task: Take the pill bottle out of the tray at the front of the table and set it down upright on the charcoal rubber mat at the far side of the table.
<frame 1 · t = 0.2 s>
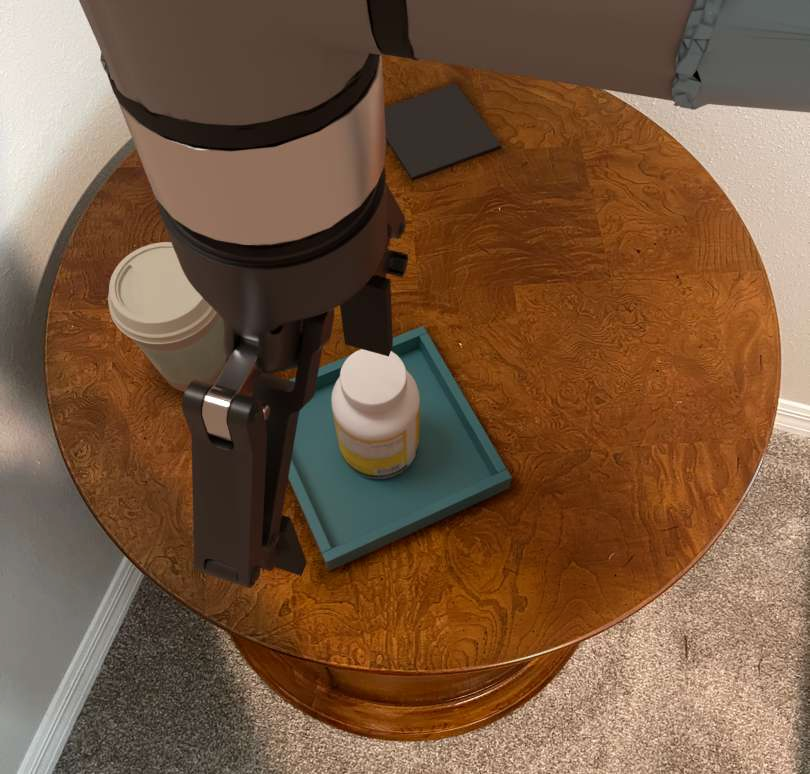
hand: (327, 446, 45), 20 cm above the table, tool pointing down, fingers open, 13 cm apart
tray: (379, 446, 67), on the table
coffee cup: (197, 365, 72), on the table
pill bottle: (379, 446, 67), resting on tray
mat: (434, 131, 85), on the table
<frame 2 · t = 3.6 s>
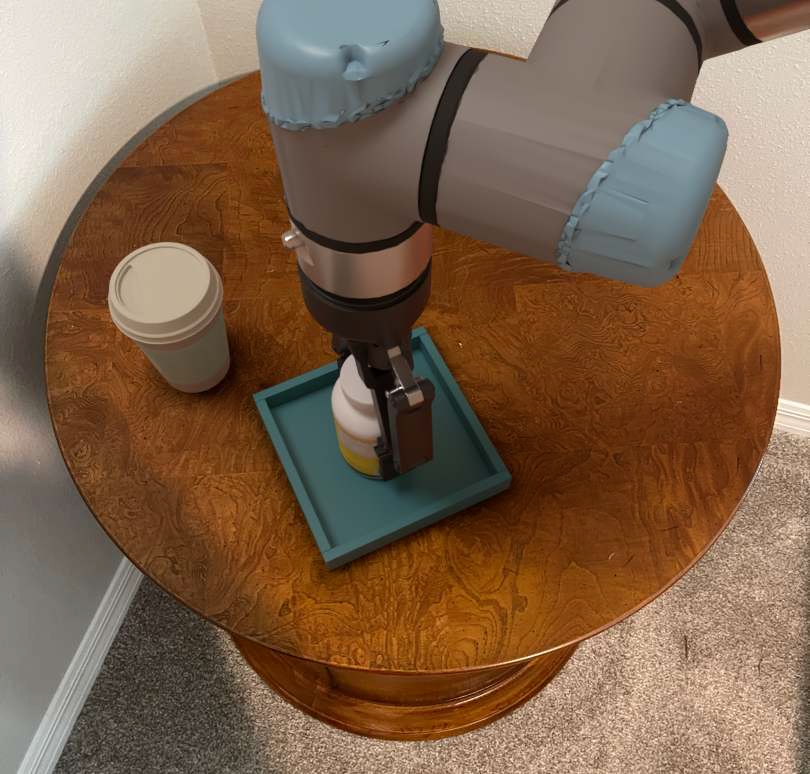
hand: (378, 433, 65), 2 cm above the table, tool pointing down, fingers closed on pill bottle, 6 cm apart
pill bottle: (379, 446, 67), resting on tray, touching gripper
everything else where it was.
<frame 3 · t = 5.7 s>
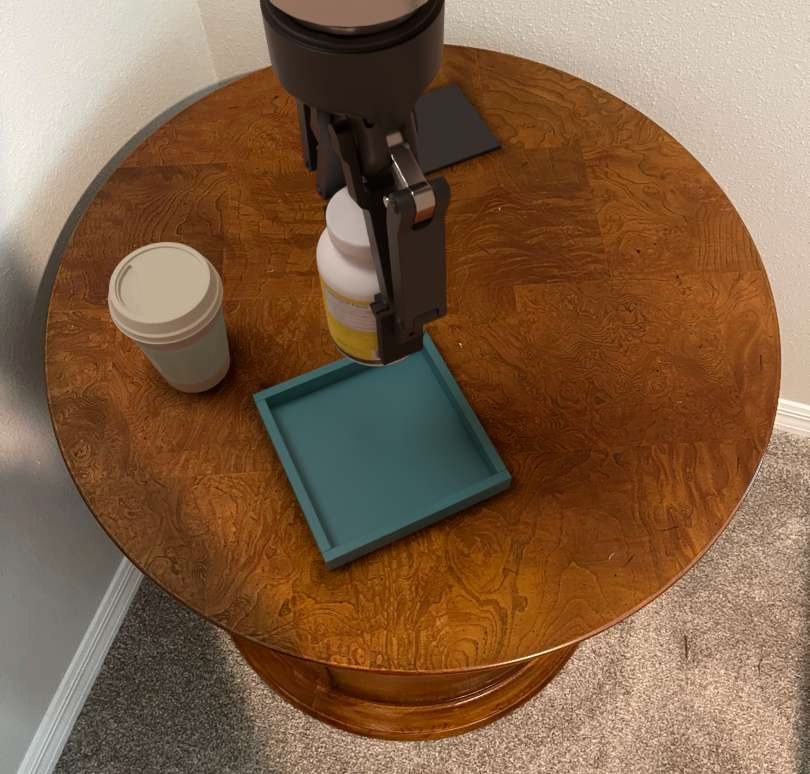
hand: (376, 309, 53), 17 cm above the table, tool pointing down, fingers closed on pill bottle, 6 cm apart
pill bottle: (378, 331, 55), point 15 cm above the table, touching gripper
everything else where it was.
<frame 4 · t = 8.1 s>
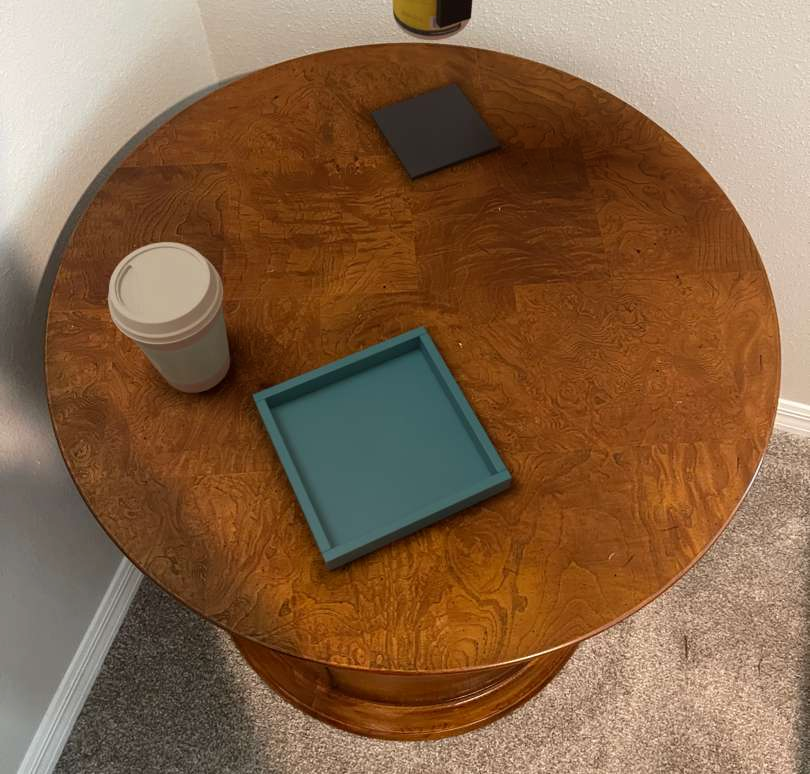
pill bottle: (431, 20, 68), point 16 cm above the table, touching gripper
everything else where it was.
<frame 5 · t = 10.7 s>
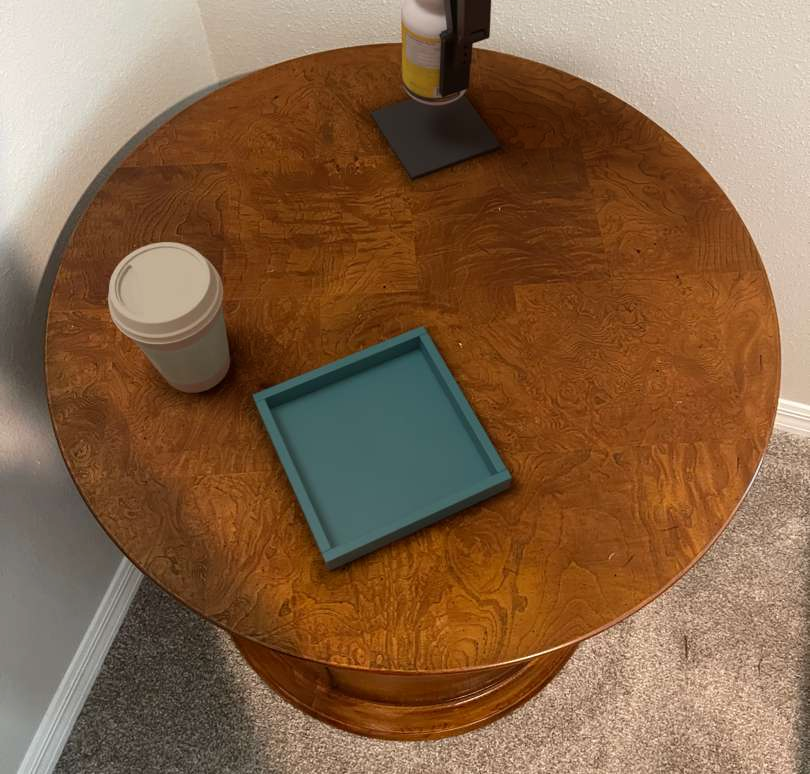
hand: (436, 66, 78), 8 cm above the table, tool pointing down, fingers closed on pill bottle, 6 cm apart
pill bottle: (435, 87, 80), point 6 cm above the table, touching gripper
everything else where it was.
when the fingers open (3 cm above the table, at t = 12.4 s): pill bottle stays where it is, resting on mat.
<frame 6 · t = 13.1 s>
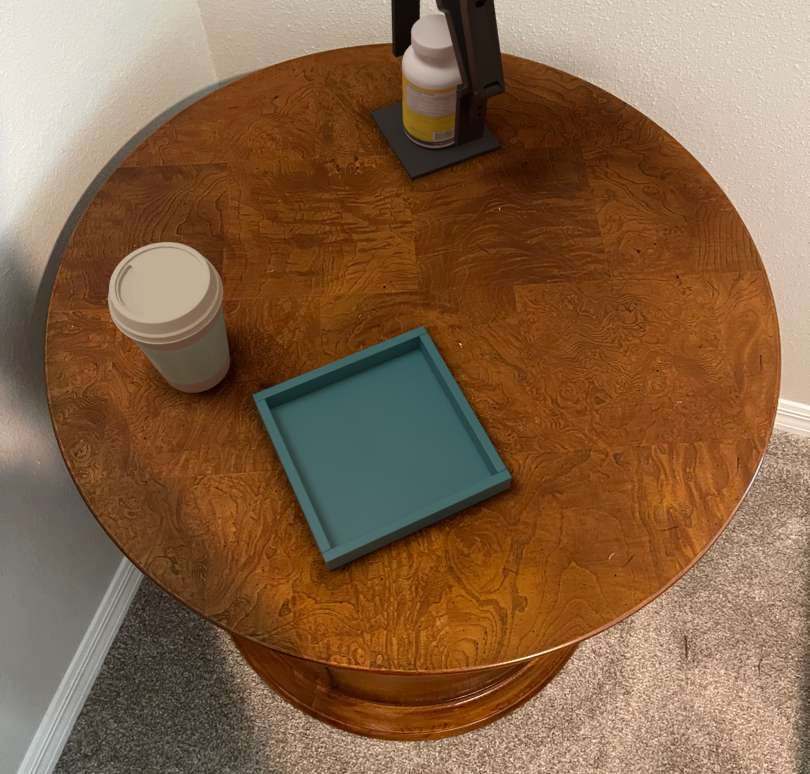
hand: (436, 94, 81), 5 cm above the table, tool pointing down, fingers open, 13 cm apart
pill bottle: (434, 130, 85), resting on mat
everything else where it was.
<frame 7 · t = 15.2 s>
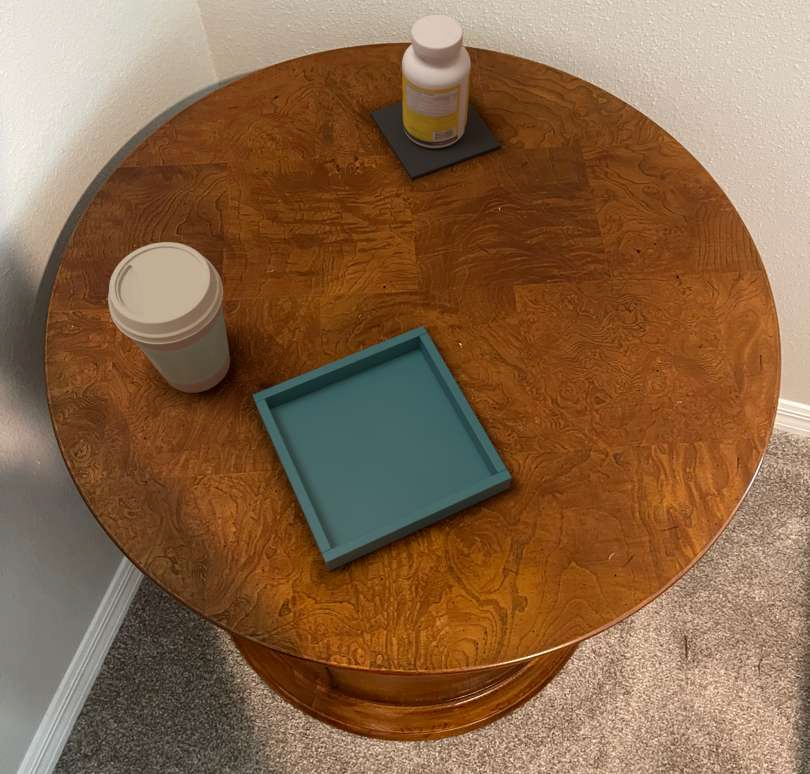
nothing on the table moved.
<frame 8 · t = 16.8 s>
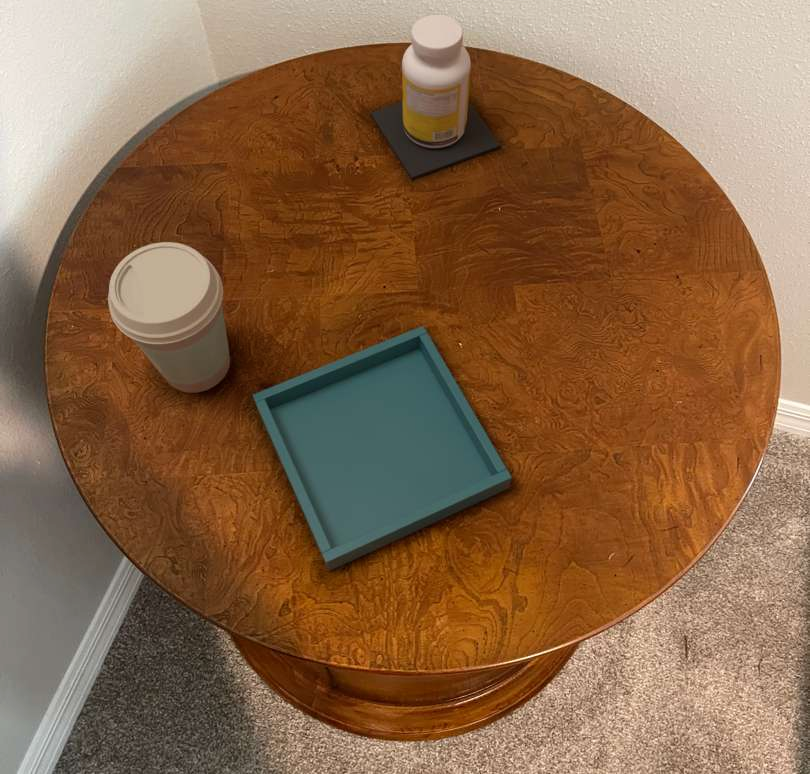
nothing on the table moved.
at the end: pill bottle inside the target area on the mat (0.0 cm from its centre), point 0.2 cm above the mat's base; pill bottle tilted 0°; the gripper is holding nothing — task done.
